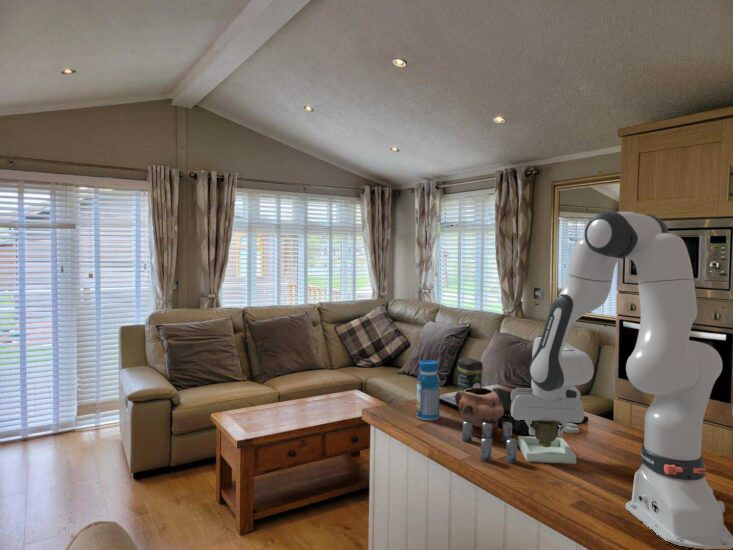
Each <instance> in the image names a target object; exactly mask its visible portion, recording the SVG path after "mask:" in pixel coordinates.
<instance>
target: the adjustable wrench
mask: <svg viewBox="0 0 733 550" xmlns="http://www.w3.org/2000/svg"><path fill="white" fill-rule="evenodd" d="M560 426H561V425H559V428H560ZM563 432H565V433H569V434H580V428H579V425H577V423H576V424H575V423H573V422H567V427H566V428H565V430H564V431H563Z"/></svg>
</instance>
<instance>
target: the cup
mask: <svg viewBox="0 0 733 550" xmlns="http://www.w3.org/2000/svg"><path fill="white" fill-rule="evenodd" d="M559 423H560V422H553V421H533V423H532V428H534V430H535V435H534V437H536V438H537V439H538V440H539V445H540V446H542V447H551V445H552V442H553V441H554V440H555V439H556V438H558V436H557V434H558V427H559Z"/></svg>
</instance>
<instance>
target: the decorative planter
mask: <svg viewBox="0 0 733 550" xmlns="http://www.w3.org/2000/svg"><path fill="white" fill-rule="evenodd" d="M460 396H462V398H461V400H460V402H459V398H460ZM454 398H455V404H456V405H457V406H458V411H459V413H460V415H461V417H462V422H463V421H464V420H469V421H472V422H473V430H472V436H477V437H482V422H483V421H489V422H492V437H493V436H496V435H497V433H498V430H499V419H501V418H502V417H503V416H504V413H505V408H504V406H503V404H502V403H501V402H502V401H501V399H500V397H499V395H498V392H495V391H493V390H492V389H488V388H485V387H482V388H469V389H465V390H464V391H458V390H457V391H456V393H455V396H454Z"/></svg>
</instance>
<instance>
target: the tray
mask: <svg viewBox="0 0 733 550" xmlns="http://www.w3.org/2000/svg"><path fill="white" fill-rule="evenodd" d="M517 446H519V449H520V451H521V452H522V455H523V457H524V459H525V461H526V462H530V463H531V462H532V463H546V464H549V463H550V464H566V465H567V464H569V465H577V455H576V453H575V452H574V451H573V449H572V448H571V447H570V446H569V444H568V443H567V442H566V441H565V439H564V438H563V437H556V439H555V440H554V441H553V442H552V445H551V447H542V446H540V445H539V440H538V439H537V438H536V437H535V436H530V435H529V436H525V435H524V436H523V435H517Z"/></svg>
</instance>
